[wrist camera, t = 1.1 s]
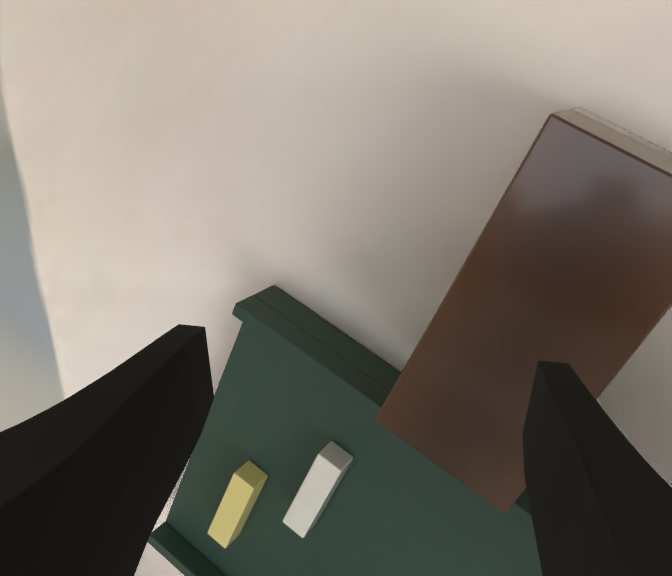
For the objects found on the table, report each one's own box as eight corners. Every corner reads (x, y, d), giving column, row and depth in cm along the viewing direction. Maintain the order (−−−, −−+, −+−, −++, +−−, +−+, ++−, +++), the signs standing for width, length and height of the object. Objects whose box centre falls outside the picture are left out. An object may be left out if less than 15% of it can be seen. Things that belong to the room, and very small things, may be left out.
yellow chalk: (268, 474, 28) (253, 489, 27) (239, 534, 31) (224, 549, 30) (249, 459, 29) (233, 472, 28) (221, 518, 31) (206, 533, 30)
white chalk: (354, 456, 26) (340, 471, 25) (316, 523, 28) (302, 539, 27) (331, 439, 26) (317, 453, 25) (295, 506, 28) (281, 521, 27)
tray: (656, 548, 22) (654, 602, 20) (453, 745, 30) (433, 802, 28) (273, 283, 27) (235, 302, 25) (182, 510, 35) (146, 541, 32)
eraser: (732, 183, 18) (747, 212, 14) (536, 438, 23) (504, 515, 19) (578, 106, 20) (549, 112, 15) (426, 363, 25) (373, 420, 21)
